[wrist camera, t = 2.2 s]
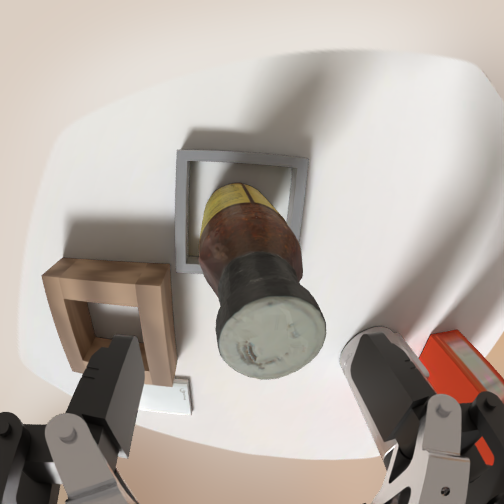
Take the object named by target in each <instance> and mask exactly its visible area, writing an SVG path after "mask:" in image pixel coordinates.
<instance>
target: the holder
mask: <svg viewBox="0 0 504 504" xmlns="http://www.w3.org/2000/svg"><path fill="white" fill-rule="evenodd" d="M42 280H43V284H44V288H45V292H46V296H47V300H48V303H49V307H50V310H51V313H52V317H53V320H54V323H55V326H56V329H57V332H58V335H59V338H60V341H61V343H62V346H63V349H64V351H65V354H66V357H67V359H68V362H69V364H70V366H71V369H72V371H74V372H78V373H84V370H85V369H86V366H87V364H88V362H89V360H90V358H91V356H92V355H93V354H94V353H95V352H96V351H97V350H99V349H100V348H101V347H106V348H108V347H109V345H110V343H111V341H112V339H106V338H99V337H96V336H95V333H94V329H93V325H92V321H91V317H90V313H89V309H88V305H87V302H94V303H103V304H112V305H122V306H133V307H138V310H139V317H140V323H141V329H142V335H143V341H144V343H139V347H140V352H141V356H142V361H143V365H144V370H145V381H144V384H148V385H156V386H166V387H173V382H174V376H175V371H176V365H177V352H176V342H175V332H174V320H173V308H172V293H171V274H170V264H160V263H141V262H123V261H106V260H90V259H74V258H62V259H60V260H59V261H58V262H57V263H56V264H54V265H53V266H52V267H51V268H50V269H49V270H47V271H46V272H45V273H44V274H43V275H42Z"/></svg>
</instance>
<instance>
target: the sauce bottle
mask: <svg viewBox="0 0 504 504" xmlns="http://www.w3.org/2000/svg"><path fill="white" fill-rule="evenodd" d="M198 261H199V263H200V266H201V269H202V272H203V274H204V277H205V278H206V280H207V282H208V284H209V285H210V286H211V288H212V289H213V291H214V292H215V294H216V295H217V297H218V298H219V302H220V306H221V307H220V309H219V311H218V315H217V319H216V335H217V342H218V348H219V352H220V355H221V357H222V358H223V360H224V361H225V362H226V363H227V364H228V365H229V366H230V367H231V368H233V369H234V370H235V371H237V372H239V373H241V374H243V375H245V376H248V377H252V378H257V379H276V378H280V377H283V376H286V375H289V374H291V373H293V372H296V371H298V370H299V369H301V368H302V367H304V366H305V365H306V364H308V363H309V362H310V361H311V360H312V359H314V358H315V357H316V356H317V354H318V353H319V351H320V349H321V348H322V346H323V343H324V341H325V337H326V322H325V319H324V317H323V314H322V312H321V310H320V308H319V306H318V304H317V302H316V301H315V299H314V297H313V296H312V295H311V294H310V292H309V291H308V290H307V289H305V288H304V287H303V286H301V285H300V283H299V281H300V280H301V278H302V276H303V267H302V256H301V248H300V245H299V242H298V240H297V238H296V236H295V234H294V233H293V231H292V230H291V229H290V227H289V226H288V224H287V223H286V221H285V220H284V218H283V217H282V216H281V215H280V214H279V213H278V212H277V210H276V209H275V208H274V207H273V206H272V205H271V204H270V203H269V202H268V200H267V199H266V198H265V197H264V196H263V195H262V194H261V193H260V192H259V191H258V190H257V189H255V188H253V187H251V186H249V185H246V184H245V185H244V184H242V183H232V184H228V185H226V186H223V187H221V188H219V189H217V190H216V191H215V192H214V193H213V194H212V196H211V197H210V199H209V200H208V202H207V204H206V207H205V211H204V216H203V221H202V228H201V234H200V241H199V258H198Z"/></svg>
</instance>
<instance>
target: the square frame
mask: <svg viewBox="0 0 504 504" xmlns="http://www.w3.org/2000/svg"><path fill="white" fill-rule="evenodd" d="M190 161H209V162H231V163H247V164H261V165H273V166H283V167H293V168H292V178H291V188H290V197H289V206H288V215H287V224H288V226H289V227H290V229H291V230H292V231H293V233H294V234H295V236H296V238H297V240H298V242H299V237H300V230H301V223H302V215H303V207H304V199H305V190H306V182H307V173H308V163H309V159H308V158H302V157H294V156H284V155H274V154H263V153H251V152H236V151H217V150H177V159H176V189H175V253H176V273H196V274H203V272H202V269H201V266H200V263H199V261H198V258H199V257H194V256H188V208H189V176H190Z"/></svg>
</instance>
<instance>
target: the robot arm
mask: <svg viewBox="0 0 504 504" xmlns="http://www.w3.org/2000/svg"><path fill="white" fill-rule="evenodd" d="M340 365H341V368H342V370H343V373H344V375H345V376H346V378H347V381H348V383H349V385H350V388H351V390H352V392H353V394H354V396H355V398H356V401H357V403H358V405H359V407H360V410H361V412H362V414H363V416H364V419H365V421H366V423H367V425H368V428H369V430H370V432H371V434H372V437H373V439H374V441H375V443H376V446H377V448H378V450H379V453H380V455H381V458H382V460H383V462H384V464H385V467H386V470H387V474H386V477H385V480H384V483H383V486H382V488H381V490H380V491H379V493H378V494H377V495H376V497H375V498H374V500H373V502H372V503H371V504H504V404H503V402H502V401H501V400H500V398H499V397H498V396H497V395H495V394H494V393H492V392H489V391H483V392H481V393H479V394H478V395H477V397H476V398H475V400H474V401H473V402H470V403H458V402H457V401H456V400H455V399H454V398H453V397H451V396H449V395H446V394H437V392H436V391H435V390H434V388H433V387H432V385H431V384H430V382H429V381H428V378H429V372H428V370H427V369H426V368H425V366H424V365H423V364H422V362H421V361H420V360H419V358H418V357H417V356H416V354H415V353H414V352H413V350H412V349H411V348H410V347H409V345H408V344H407V343H406V341H405V340H404V339H403V338H402V336H401V335H400V334H399V333H393V332H392V331H391V330H390V329H388V328H386V327H374V328H370V329H368V330H365V331H363V332H361V333H360V334H358V335H356V336H355V337H354V338H353V339H351V341H350V342H349V343H348V344H347V345H346V346H345V348H344V349H343V351H342V353H341V356H340ZM144 381H145V370H144V365H143V361H142V356H141V352H140V347H139V342H138V339H137V337H136V336H130V335H119V334H115V335H114V337H113V339H112V341H111V343H110V345H109V347H108V348H106V347H101V348H100V349H99V350H97V351H96V352H95V353H94V354H93V355H92V356H91V358H90V360H89V362H88V364H87V366H86V369H85V370H84V373H83V375H82V378H81V379H80V381H79V383H78V386H77V388H76V390H75V392H74V395H73V397H72V399H71V402H70V404H69V406H68V409H67V411H66V413H63V414H59V415H56V416H55V417H53V418H52V419H51V420H50V421H49V422H48V424H46V425H32V424H31V425H30V424H23V423H22V422H21V421H20V419H19V418H18V417H17V416H16V415H14V414H13V413H10V412H2V413H0V504H57V500H58V495H59V488H60V484H63V486H64V488H65V490H66V493H67V495H68V499H67V500H66V501H65V503H66V504H140V503H139V502H138V500H137V499H136V497H135V496H134V494H133V493H132V492H131V490H130V489H129V487H128V486H127V484H126V482H125V481H124V479H123V478H122V476H121V475H120V473H119V471H118V470H117V468H116V463H117V457H122V458H128V457H129V452H130V446H131V441H132V436H133V431H134V426H135V422H136V417H137V412H138V408H139V404H140V399H141V395H142V391H143V387H144ZM481 437H483V438H484V440H485V442H486V443H487V445H488V447H489V448H490V450H491V452H492V454H493V456H494V463H493V465H492V466H491V465H487V464H486V463H485V461H484V460H483V458H482V456H481V454H480V452H479V451H478V449H477V447H476V445H475V443H476V442H477V441H478V440H479V439H480V438H481ZM364 504H366V503H364Z"/></svg>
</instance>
